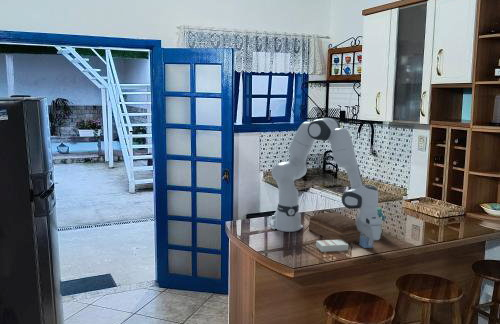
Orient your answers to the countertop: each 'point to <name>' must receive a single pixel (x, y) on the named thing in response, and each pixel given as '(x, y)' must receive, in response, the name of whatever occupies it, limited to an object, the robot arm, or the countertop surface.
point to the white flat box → (331, 245)
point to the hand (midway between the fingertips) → (366, 243)
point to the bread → (334, 227)
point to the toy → (380, 215)
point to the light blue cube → (365, 241)
